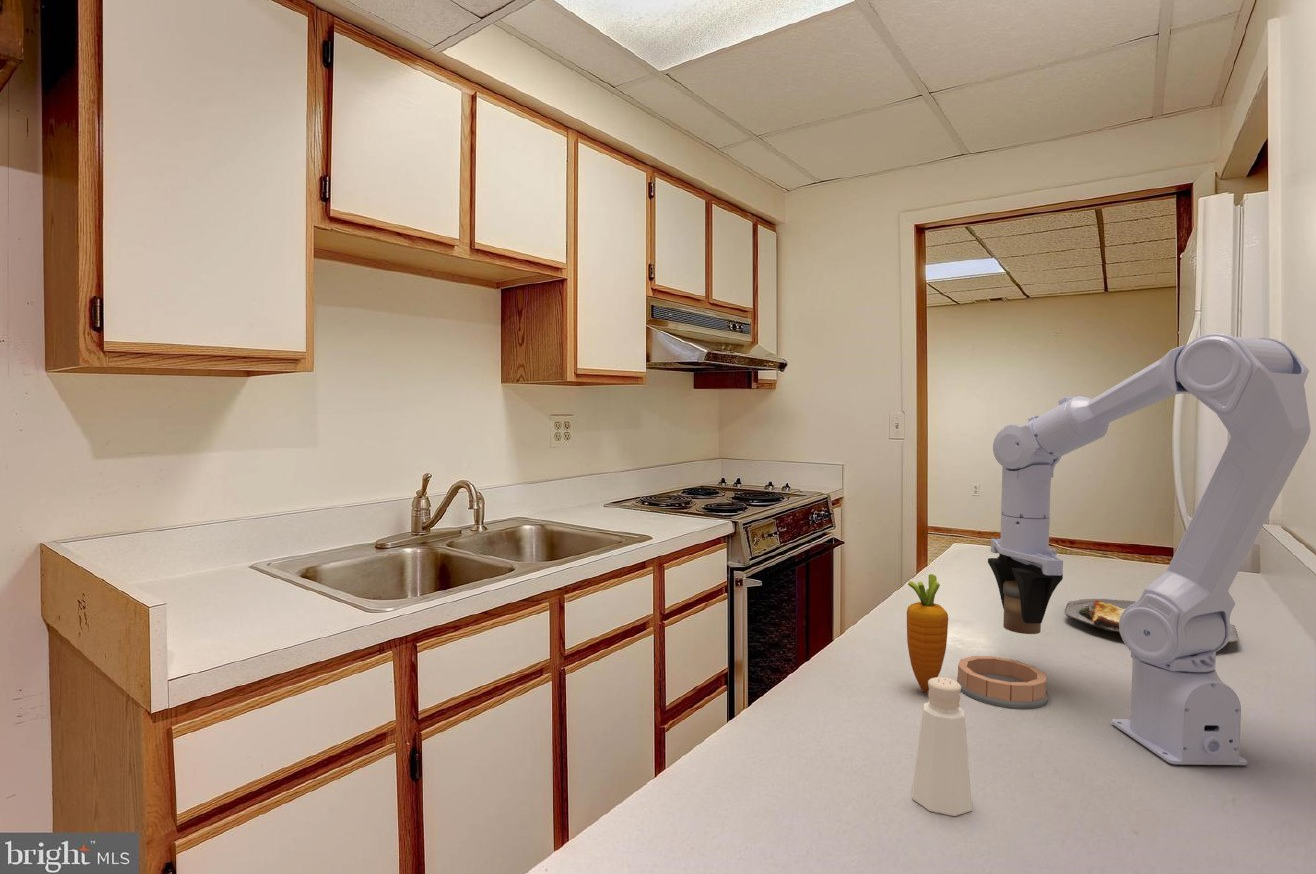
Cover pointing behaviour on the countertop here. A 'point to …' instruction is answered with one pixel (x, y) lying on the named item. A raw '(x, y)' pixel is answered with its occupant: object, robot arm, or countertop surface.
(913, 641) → the carrot
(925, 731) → the salt shaker
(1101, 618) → the food plate
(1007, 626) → the walnut pepper mill
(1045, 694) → the coaster
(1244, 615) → the countertop surface
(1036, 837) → the countertop surface
